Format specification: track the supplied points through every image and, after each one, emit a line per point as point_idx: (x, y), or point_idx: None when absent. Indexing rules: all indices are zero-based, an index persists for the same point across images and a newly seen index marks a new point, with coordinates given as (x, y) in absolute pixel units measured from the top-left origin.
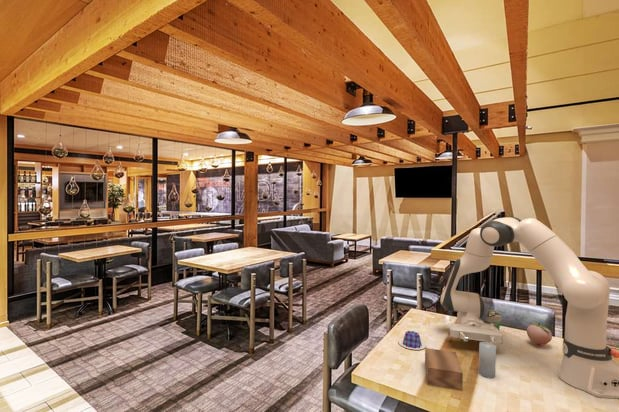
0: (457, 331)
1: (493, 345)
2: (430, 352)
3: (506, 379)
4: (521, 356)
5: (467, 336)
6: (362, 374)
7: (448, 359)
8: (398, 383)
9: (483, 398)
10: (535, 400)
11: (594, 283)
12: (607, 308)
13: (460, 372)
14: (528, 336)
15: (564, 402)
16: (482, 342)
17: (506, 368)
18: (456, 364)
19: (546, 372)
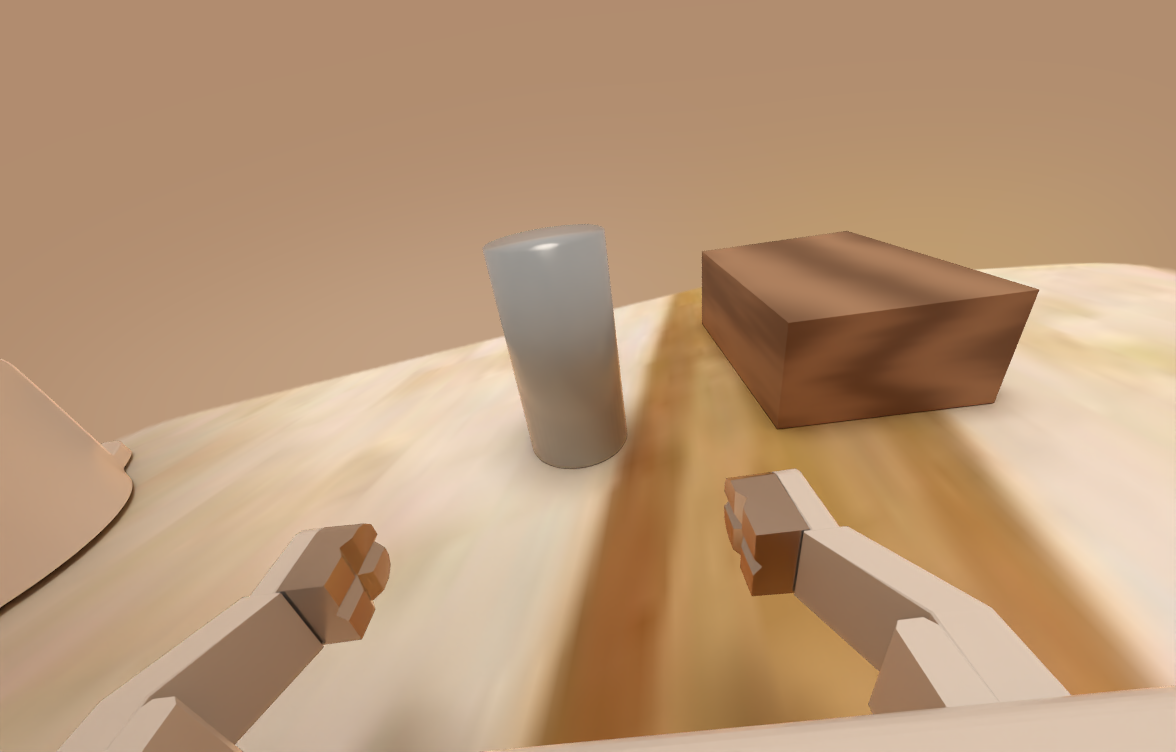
0: (1163, 699)
1: (499, 243)
2: (942, 274)
3: (483, 431)
4: None
5: (747, 511)
6: (1112, 266)
7: (795, 272)
8: None
9: (629, 321)
10: (447, 363)
11: None
12: None
13: (711, 250)
14: None
15: (339, 386)
16: (573, 240)
17: (392, 553)
18: (740, 266)
19: (67, 616)
